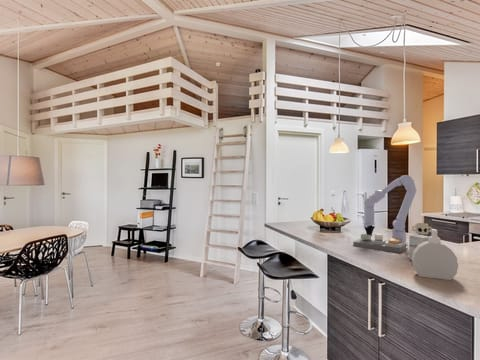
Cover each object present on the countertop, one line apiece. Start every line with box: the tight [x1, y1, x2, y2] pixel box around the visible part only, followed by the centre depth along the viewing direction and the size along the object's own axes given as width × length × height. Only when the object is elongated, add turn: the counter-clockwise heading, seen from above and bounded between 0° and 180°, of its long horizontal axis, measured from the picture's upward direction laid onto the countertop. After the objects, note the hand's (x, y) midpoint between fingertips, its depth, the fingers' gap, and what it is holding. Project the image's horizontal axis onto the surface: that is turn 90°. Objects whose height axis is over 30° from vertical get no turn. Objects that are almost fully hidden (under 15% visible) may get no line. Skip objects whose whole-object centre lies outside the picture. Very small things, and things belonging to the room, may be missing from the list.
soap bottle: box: [411, 228, 459, 281], centre depth 127 cm, size 16×5×20 cm, turn 67°
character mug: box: [411, 222, 433, 236], centre depth 191 cm, size 11×7×13 cm, turn 69°
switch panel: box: [352, 238, 407, 254], centre depth 181 cm, size 14×26×4 cm, turn 48°
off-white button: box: [374, 233, 384, 240], centre depth 181 cm, size 4×4×3 cm
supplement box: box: [408, 233, 430, 261], centre depth 152 cm, size 7×7×13 cm
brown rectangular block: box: [387, 237, 402, 244], centre depth 175 cm, size 10×5×3 cm, turn 138°
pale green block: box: [360, 233, 372, 240], centre depth 190 cm, size 3×5×3 cm, turn 48°
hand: (369, 237), depth 194 cm, fingers closed
